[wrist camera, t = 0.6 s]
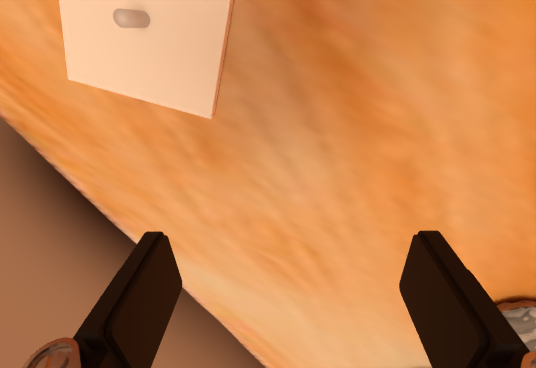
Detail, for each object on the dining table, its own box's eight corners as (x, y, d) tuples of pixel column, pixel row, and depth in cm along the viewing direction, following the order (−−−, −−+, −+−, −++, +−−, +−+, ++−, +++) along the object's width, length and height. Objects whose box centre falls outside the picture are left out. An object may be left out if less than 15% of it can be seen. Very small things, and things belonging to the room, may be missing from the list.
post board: (61, -115, 26) (-1, -154, 20) (242, -54, 27) (231, -74, 22) (78, 76, 35) (39, 86, 29) (214, 114, 36) (201, 130, 31)
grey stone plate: (566, 338, 57) (579, 353, 55) (478, 352, 62) (486, 367, 59) (570, 280, 49) (586, 294, 46) (468, 302, 53) (477, 316, 51)
